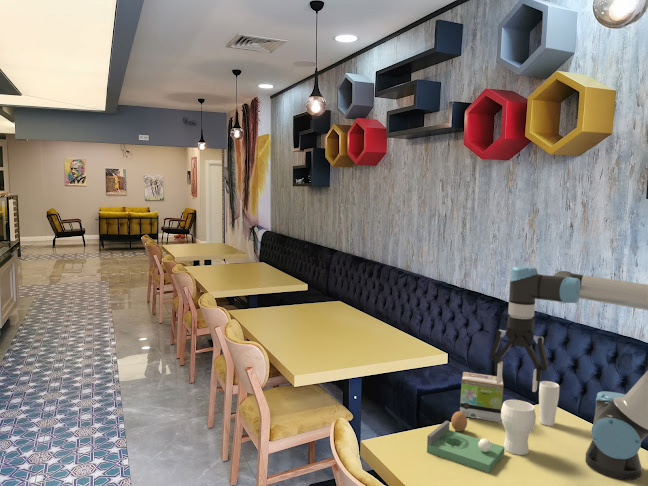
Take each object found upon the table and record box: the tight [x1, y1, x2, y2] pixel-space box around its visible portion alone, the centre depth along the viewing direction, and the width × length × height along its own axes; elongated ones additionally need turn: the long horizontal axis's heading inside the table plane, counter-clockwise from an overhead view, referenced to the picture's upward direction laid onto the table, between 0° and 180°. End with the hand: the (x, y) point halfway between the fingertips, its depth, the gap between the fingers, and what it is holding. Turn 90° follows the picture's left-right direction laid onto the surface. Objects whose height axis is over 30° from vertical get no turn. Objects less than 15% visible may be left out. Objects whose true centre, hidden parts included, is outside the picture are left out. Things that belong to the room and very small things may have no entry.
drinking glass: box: [538, 380, 560, 427], centre depth 189 cm, size 7×7×15 cm
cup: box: [501, 399, 537, 456], centre depth 167 cm, size 11×11×15 cm
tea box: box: [459, 371, 504, 423], centre depth 195 cm, size 15×10×15 cm, turn 73°
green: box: [426, 420, 505, 474], centre depth 164 cm, size 20×15×6 cm
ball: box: [478, 438, 492, 452], centre depth 160 cm, size 4×4×4 cm
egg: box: [450, 410, 468, 432], centre depth 180 cm, size 5×5×7 cm
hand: (516, 386), depth 159 cm, fingers open, 10 cm apart
